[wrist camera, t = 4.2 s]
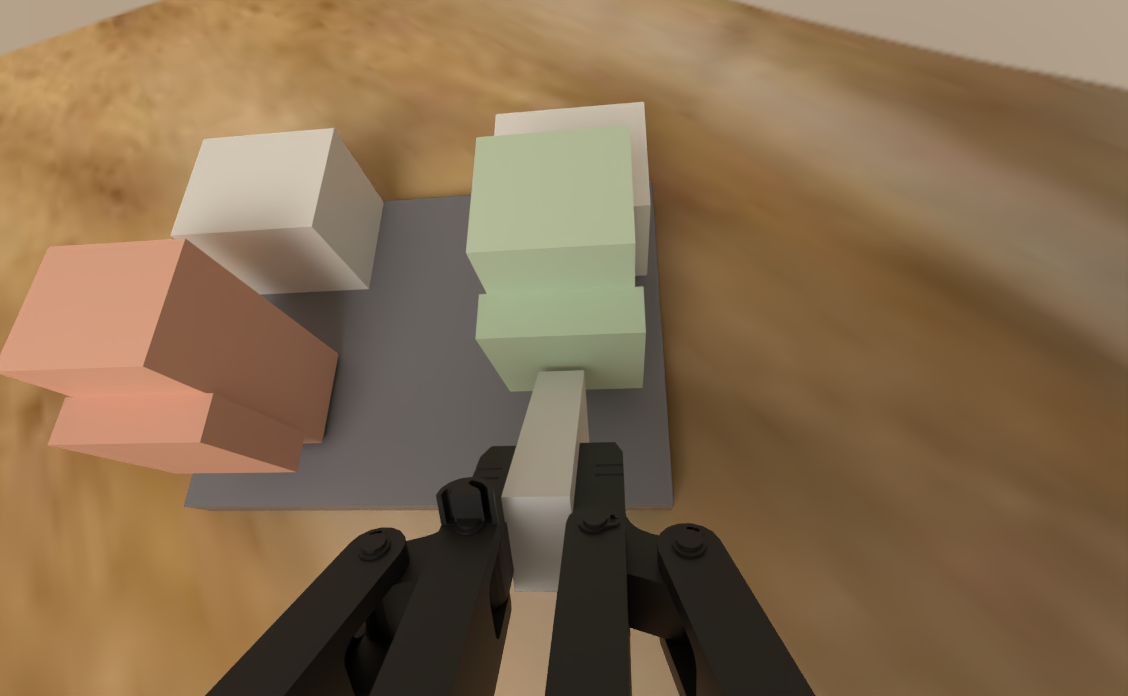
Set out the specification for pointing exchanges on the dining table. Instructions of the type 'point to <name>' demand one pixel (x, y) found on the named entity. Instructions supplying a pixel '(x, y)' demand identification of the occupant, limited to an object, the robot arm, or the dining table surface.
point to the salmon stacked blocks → (169, 361)
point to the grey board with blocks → (400, 320)
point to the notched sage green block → (557, 257)
